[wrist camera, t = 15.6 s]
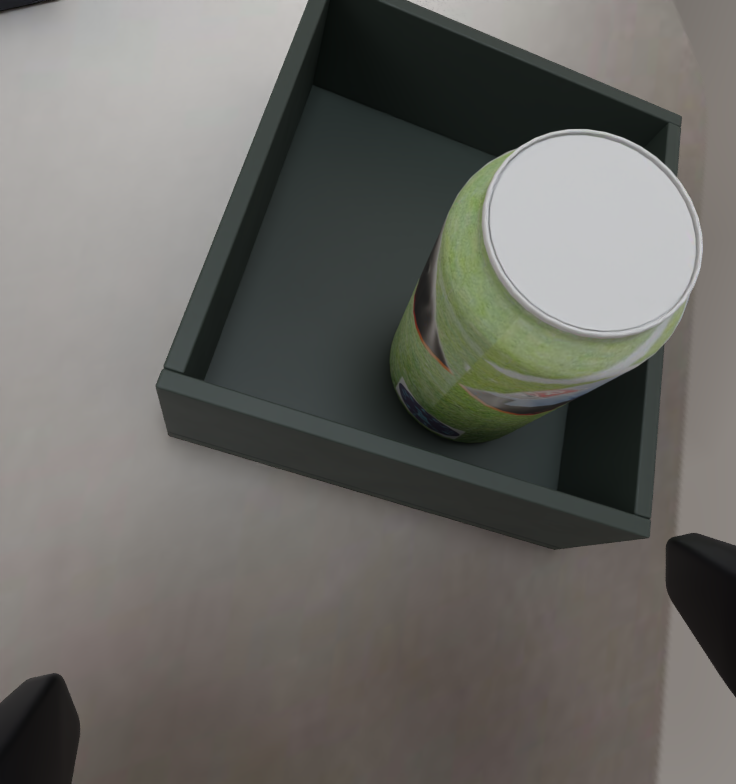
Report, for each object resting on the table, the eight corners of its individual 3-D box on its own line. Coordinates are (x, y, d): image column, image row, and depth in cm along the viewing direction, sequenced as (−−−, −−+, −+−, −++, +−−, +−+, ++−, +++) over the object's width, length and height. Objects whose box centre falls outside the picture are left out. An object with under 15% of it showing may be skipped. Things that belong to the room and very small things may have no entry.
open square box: (555, 550, 24) (650, 538, 19) (167, 435, 22) (154, 386, 17) (601, 197, 30) (682, 115, 25) (301, 80, 28) (322, -37, 23)
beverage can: (553, 392, 25) (820, 237, 14) (425, 502, 23) (631, 417, 12) (457, 275, 26) (642, 39, 15) (320, 368, 23) (422, 165, 12)
